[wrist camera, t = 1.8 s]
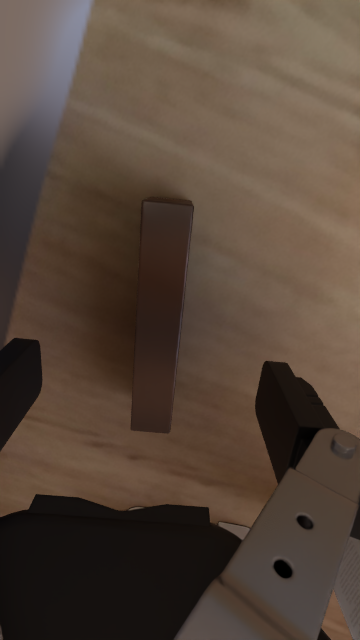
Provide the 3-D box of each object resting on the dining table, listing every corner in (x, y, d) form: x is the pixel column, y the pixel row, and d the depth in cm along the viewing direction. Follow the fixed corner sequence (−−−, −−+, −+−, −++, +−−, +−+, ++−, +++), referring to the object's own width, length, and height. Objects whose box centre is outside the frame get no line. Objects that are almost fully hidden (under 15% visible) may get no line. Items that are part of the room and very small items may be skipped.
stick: (149, 196, 15) (141, 199, 13) (192, 200, 16) (194, 204, 13) (137, 396, 20) (130, 431, 17) (172, 398, 20) (170, 434, 17)
